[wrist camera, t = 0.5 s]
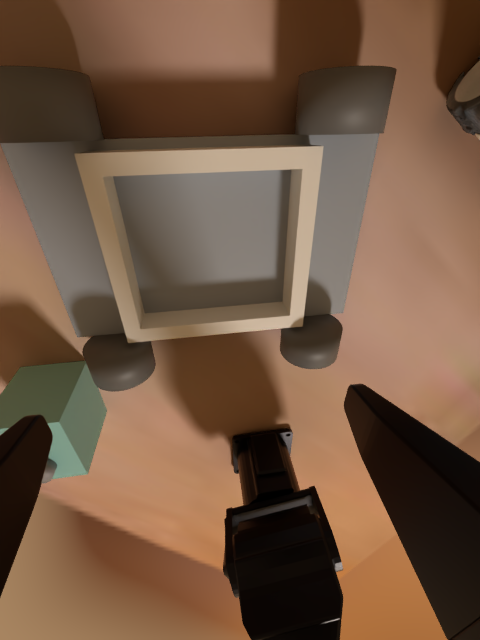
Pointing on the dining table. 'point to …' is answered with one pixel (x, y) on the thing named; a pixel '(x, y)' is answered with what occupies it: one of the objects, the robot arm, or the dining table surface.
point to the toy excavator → (467, 100)
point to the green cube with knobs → (58, 412)
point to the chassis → (195, 217)
